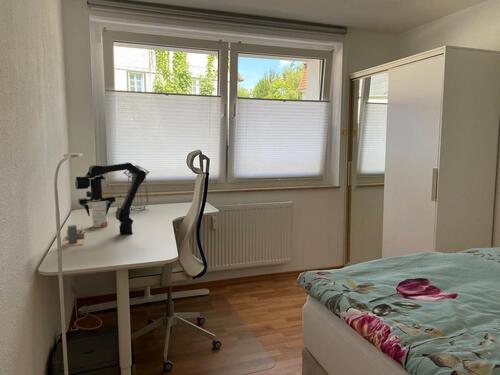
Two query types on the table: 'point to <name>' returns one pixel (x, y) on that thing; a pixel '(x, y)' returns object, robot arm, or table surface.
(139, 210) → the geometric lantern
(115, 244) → the table surface
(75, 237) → the dark gray rectangular block
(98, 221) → the ink cartridge box
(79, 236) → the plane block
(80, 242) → the rubber mat
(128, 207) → the robot arm
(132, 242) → the table surface
